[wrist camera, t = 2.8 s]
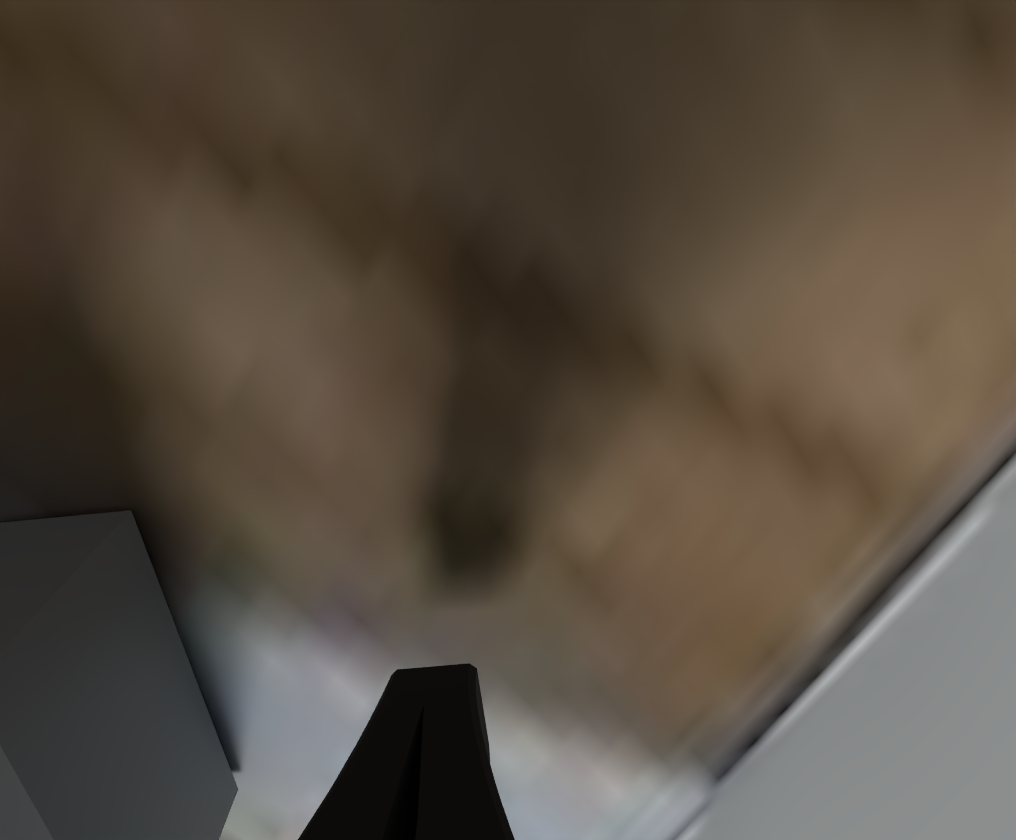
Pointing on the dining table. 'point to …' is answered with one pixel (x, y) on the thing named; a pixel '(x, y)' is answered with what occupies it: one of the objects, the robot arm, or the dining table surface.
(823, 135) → the dining table surface
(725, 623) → the dining table surface
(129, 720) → the grey stepped block
